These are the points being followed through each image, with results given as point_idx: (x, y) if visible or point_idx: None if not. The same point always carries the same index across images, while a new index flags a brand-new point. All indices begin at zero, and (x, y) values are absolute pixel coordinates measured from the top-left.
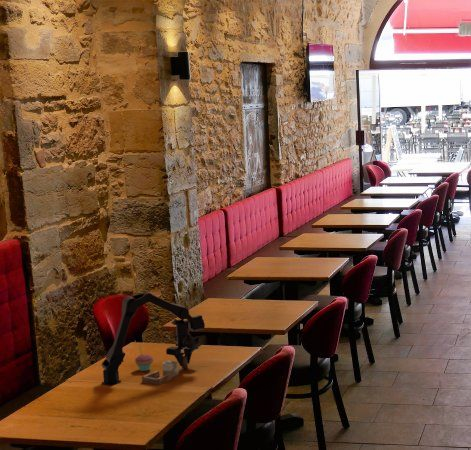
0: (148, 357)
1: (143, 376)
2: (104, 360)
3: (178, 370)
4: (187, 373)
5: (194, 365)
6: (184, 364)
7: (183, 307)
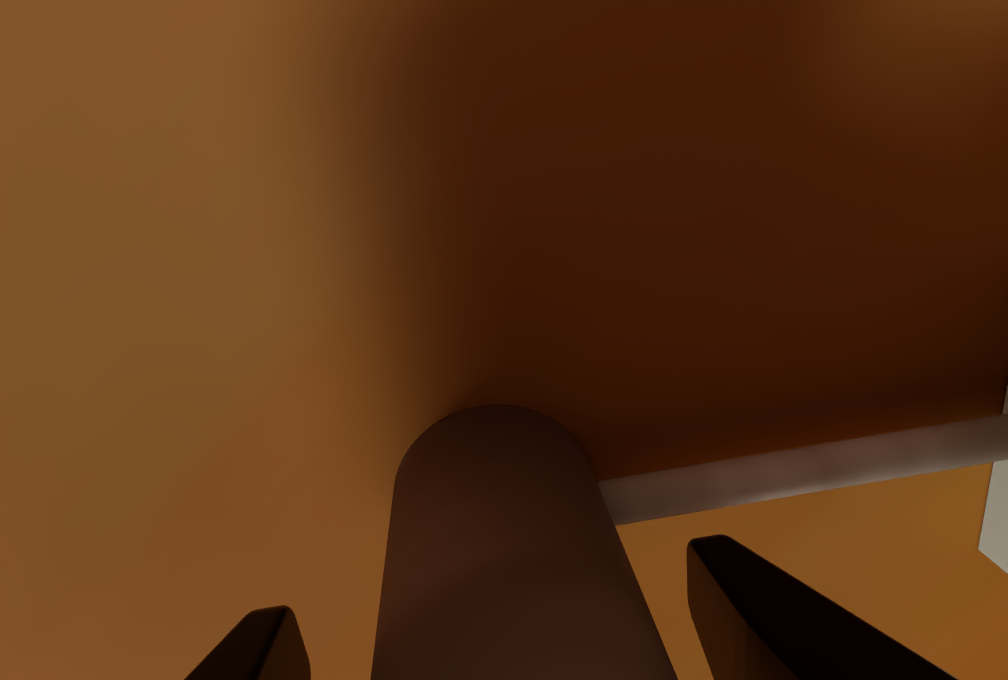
0: None
1: None
2: None
3: (858, 452)
4: (823, 29)
5: (8, 552)
6: (611, 561)
7: None
